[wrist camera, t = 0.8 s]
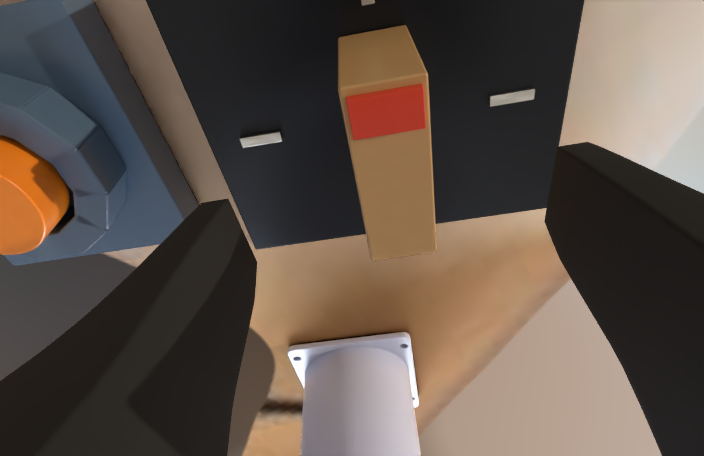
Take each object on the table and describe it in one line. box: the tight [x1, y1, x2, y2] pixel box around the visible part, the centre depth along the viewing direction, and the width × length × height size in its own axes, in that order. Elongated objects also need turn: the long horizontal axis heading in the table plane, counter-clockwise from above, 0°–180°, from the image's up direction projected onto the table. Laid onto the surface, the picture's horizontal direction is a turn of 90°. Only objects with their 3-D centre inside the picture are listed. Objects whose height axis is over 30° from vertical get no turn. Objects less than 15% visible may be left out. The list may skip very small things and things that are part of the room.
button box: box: [0, 0, 199, 266], centre depth 16 cm, size 10×9×4 cm
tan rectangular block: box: [338, 25, 437, 261], centre depth 12 cm, size 6×2×4 cm, turn 9°
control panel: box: [146, 0, 584, 249], centre depth 15 cm, size 10×12×3 cm
